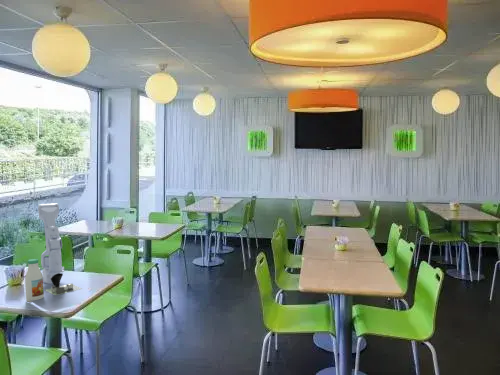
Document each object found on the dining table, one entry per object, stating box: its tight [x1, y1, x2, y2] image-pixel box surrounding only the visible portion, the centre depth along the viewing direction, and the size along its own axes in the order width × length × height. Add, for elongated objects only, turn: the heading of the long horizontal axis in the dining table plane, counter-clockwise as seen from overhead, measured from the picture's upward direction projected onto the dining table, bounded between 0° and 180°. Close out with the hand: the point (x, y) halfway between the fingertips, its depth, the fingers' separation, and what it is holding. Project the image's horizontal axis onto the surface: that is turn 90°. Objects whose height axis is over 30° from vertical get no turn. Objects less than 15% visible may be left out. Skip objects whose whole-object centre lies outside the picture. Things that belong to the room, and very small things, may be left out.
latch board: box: [44, 284, 83, 296], centre depth 224 cm, size 13×14×4 cm
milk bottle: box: [24, 258, 45, 303], centre depth 210 cm, size 8×8×20 cm
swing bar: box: [50, 283, 74, 292], centre depth 221 cm, size 10×3×3 cm, turn 117°
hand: (56, 288), depth 222 cm, fingers closed, pressing on swing bar
